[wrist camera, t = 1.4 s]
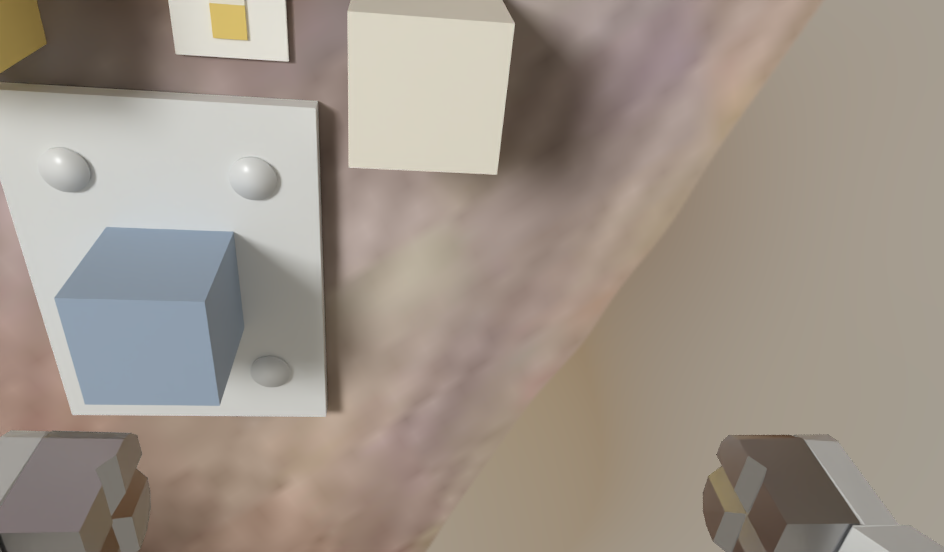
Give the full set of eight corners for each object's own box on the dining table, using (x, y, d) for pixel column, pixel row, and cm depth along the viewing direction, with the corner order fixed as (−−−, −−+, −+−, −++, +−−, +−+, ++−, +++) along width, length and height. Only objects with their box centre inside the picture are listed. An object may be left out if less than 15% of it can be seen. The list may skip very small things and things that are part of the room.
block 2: (357, -22, 25) (347, 11, 20) (497, -10, 25) (514, 23, 21) (357, 114, 27) (348, 167, 23) (483, 121, 28) (496, 174, 24)
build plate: (-17, 80, 25) (-31, 89, 25) (317, 100, 27) (315, 110, 26) (78, 403, 34) (70, 417, 33) (327, 405, 35) (325, 419, 35)
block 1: (106, 226, 28) (54, 298, 24) (233, 231, 29) (204, 301, 24) (128, 325, 31) (85, 404, 27) (244, 327, 31) (219, 405, 27)
